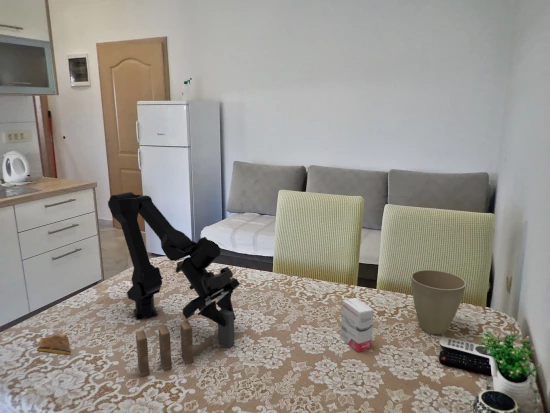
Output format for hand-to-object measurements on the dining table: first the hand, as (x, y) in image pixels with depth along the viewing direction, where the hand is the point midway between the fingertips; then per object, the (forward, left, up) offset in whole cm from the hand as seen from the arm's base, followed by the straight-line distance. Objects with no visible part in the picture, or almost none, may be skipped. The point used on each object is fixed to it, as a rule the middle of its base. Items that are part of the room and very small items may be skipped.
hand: (229, 322), depth 110 cm
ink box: (+14, +32, -7) cm, 36 cm away
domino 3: (+1, -12, -7) cm, 14 cm away
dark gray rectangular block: (-1, -1, -7) cm, 7 cm away
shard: (-21, -42, -8) cm, 47 cm away
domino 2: (+1, -18, -7) cm, 19 cm away
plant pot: (+18, +58, -7) cm, 61 cm away
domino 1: (+1, -23, -7) cm, 24 cm away
